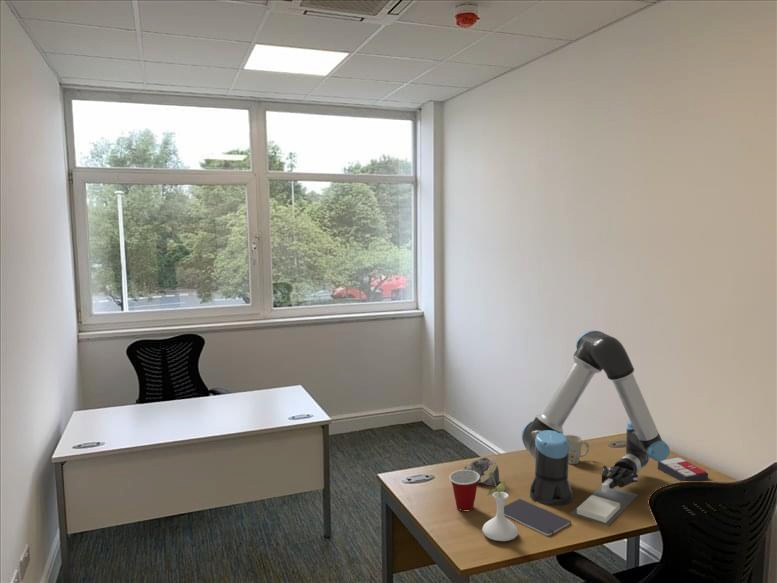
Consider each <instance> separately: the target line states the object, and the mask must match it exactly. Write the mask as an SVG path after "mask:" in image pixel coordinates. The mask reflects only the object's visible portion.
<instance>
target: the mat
mask: <svg viewBox="0 0 777 583" xmlns="http://www.w3.org/2000/svg"><path fill="white" fill-rule="evenodd" d="M591 495H594V496H598V497H601V498H604V499H608V500H611V501H614V502H618V503H620V509H619V510H618V511H617V512H616V513H615V514H614V515H613V516H612V517H611V518H610V519H609V520H608V521H607V522H606V523H603V522H600V521H597V520H594V519H591V518H588V517H585V516H582V515H579V514H577V508H578V507H579V506H580V505H581V504H582V503H580V504H579V505H578V506H577V507H576V508H575V509H573V510H572V511H571V512H570V514H571V515H574V516H577V517H580V518H583V519H587V520H589V521H592V522H595V523H598V524H602V525H604V526H607V527H609V525H610V524H612V522H613V521H614V520H615V519H616V518H617V517H618V516H619V515H620V514H621V513H622V512H623V511H624V510H625V508H627V507H628V506H629V504H631V502H632V501H633V500H635V498H636V497H637V496H638V494H637V493H633V492H629V491H625V490H622V489H618V488H616V487H614V488H613V489H609V490H608V491H607V492H606V493H604V492H602V485H600V486H599V487H598V488H596V490H595V491H594V492H593V493H592V494H591ZM591 495H589V496H588V497H587V498H586V499H584V501H586V500H587V499H588V498H589V497H590V496H591Z"/></svg>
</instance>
